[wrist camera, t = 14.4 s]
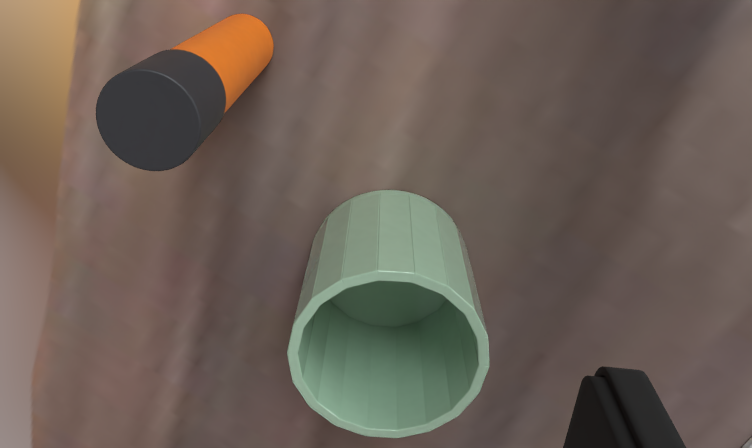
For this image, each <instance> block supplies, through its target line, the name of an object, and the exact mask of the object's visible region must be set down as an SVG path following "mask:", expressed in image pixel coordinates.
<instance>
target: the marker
mask: <svg viewBox="0 0 752 448" xmlns="http://www.w3.org/2000/svg"><path fill="white" fill-rule="evenodd" d="M272 54H273V39H272V36H271V34H270V31H269V30H268V28H267V27H266V26H265V24H264V23H263V22H261V21H260V20H259V19H257V18H255V17H253V16H251V15H247V14H235V15H232V16H229V17H227V18H226V19H224V20H222V21H220V22H218V23H217V24H215V25H213V26H211V27H209V28H208V29H206V30H204V31H202V32H200V33H199V34H197V35H195V36H193V37H191V38H190V39H188V40H186V41H184V42H182V43H181V44H179V45H177V46H175V47H173V48H172V49H170V50H165V51H161V52H159V53H157V54H154V55H153V56H151V57H149V58H147V59H145V60H143V61H141V62H140V63H138V64H136V65H134V66H132V67H130V68H128V69H127V70H125V71H123V72H121V73H119V74H118V75H116V76H114V77H113V78H112V79H111V80H109V81H108V82H107V83H106V85H105V86H104V87H103V89H102V91H101V92H100V95H99V97H98V100H97V105H96V120H97V125H98V129H99V132H100V134H101V136H102V138H103V140H104V141H105V143H106V145H107V146H108V147H109V148H110V150H111V151H112V152H113V153H114V154H115V155H116V156H118V157H119V158H120V159H121V160H123V161H124V162H126V163H128V164H130V165H132V166H134V167H137V168H139V169H143V170H149V171H164V170H169V169H172V168H175V167H177V166H179V165H181V164H182V163H184V162H185V161H186V160H188V159H189V158H190V156H191V155H192V154H193V153H194V152H195V151H196V150H197V149H198V147H199V146H200V145H201V144H202V143H203V142H204V140H205V139H206V138H207V137H208V136H209V135H210V134H211V132H212V131H213V130H214V129H215V128H216V127H217V125H218V124H219V123H220V121H221V119H222V117H223V115H224V113H225V112H226V111H227V110H228V109H229V108H230V106H231V105H232V104H233V103H234V102H235V101H236V100H237V98H238V97H239V96H240V95H241V94H242V93H243V92H244V91H245V89H246V88H247V87H248V86H249V85H250V84H251V83H252V82H253V80H254V79H255V78H256V77H257V76H258V75H259V74H260V73H261V71H262V70H263V69H264V68H265V67H266V66H267V65H268V63H269V62H270V60H271V57H272Z"/></svg>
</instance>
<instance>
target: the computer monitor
mask: <svg viewBox="0 0 752 448" xmlns="http://www.w3.org/2000/svg"><path fill="white" fill-rule="evenodd" d="M742 448H752V437H751V438H750V439H749V440H748V441H747V443H746V444H745V445H744V446H743V447H742Z"/></svg>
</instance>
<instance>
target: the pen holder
mask: <svg viewBox="0 0 752 448" xmlns="http://www.w3.org/2000/svg"><path fill="white" fill-rule="evenodd" d="M287 357H288V362H289V367H290V372H291V377H292V381H293V383H294V385H295V386H296V388H297V389H298V391H299V392H300V394H301V395H302V397H303V398H304V400H305V401H306V403H307V404H308V406H310V408H312V409H313V410H314V411H316V412H317V413H318V414H320V415H321V416H322V417H324V418H325V419H326V420H328V421H329V422H330V423H332V424H333V425H335V426H337V427H340V428H343V429H346V430H349V431H351V432H354V433H357V434H360V435H363V436H368V437H384V438H402V437H407V436H412V435H416V434H421V433H426V432H430V431H432V430H434V429H436V428H438V427H439V426H441V425H443V424H445V423H447V422H449V421H450V420H452V419H454V418H456V417H457V416H459V415H460V414H461V413H462V412H463V410H464V409H465V408H466V407H467V406H468V405H469V404H470V403H471V402H472V401H473V400H474V398H475V397H476V396H477V395H478V394H479V392H480V390H481V387H482V384H483V382H484V379H485V377H486V374H487V371H488V369H489V365H490V361H489V341H488V334H487V330H486V326H485V322H484V317H483V313H482V309H481V305H480V301H479V297H478V293H477V289H476V284H475V280H474V276H473V272H472V268H471V264H470V260H469V256H468V252H467V248H466V245H465V243H464V240H463V238H462V235H461V233H460V231H459V229H458V227H457V225H456V224H455V222H454V221H453V220H452V219H451V217H450V216H449V215H448V214H447V213H446V212H445V211H444V210H443V209H442V208H440V207H439V206H438V205H436V204H435V203H433V202H432V201H430V200H428V199H426V198H424V197H421V196H419V195H416V194H413V193H409V192H405V191H398V190H379V191H372V192H368V193H364V194H361V195H358V196H356V197H353V198H351V199H349V200H347V201H346V202H344V203H342V204H341V205H340V206H338V207H337V208H335V209H334V210H333V211H332V212H331V213H330V214H329V215H328V216H327V218H326V219H325V220H324V221H323V223H322V224H321V226H320V228H319V229H318V231H317V233H316V235H315V237H314V240H313V244H312V248H311V252H310V256H309V261H308V265H307V269H306V273H305V277H304V281H303V285H302V289H301V294H300V298H299V302H298V306H297V310H296V314H295V318H294V323H293V327H292V331H291V336H290V340H289V345H288V349H287Z"/></svg>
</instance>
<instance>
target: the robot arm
mask: <svg viewBox="0 0 752 448" xmlns="http://www.w3.org/2000/svg"><path fill="white" fill-rule="evenodd" d="M563 448H686V446H685V445H684V443H683V441H682V439H681V437H680V435H679V434H678V432H677V430H676V428H675V426H674V424H673V423H672V421H671V419H670V417H669V415H668V413H667V412H666V410H665V408H664V406H663V404H662V402H661V400H660V399H659V397H658V395H657V393H656V391H655V389H654V388H653V386H652V384H651V382H650V380H649V378H648V377H647V375H646V374H645V373H644V372H643V371H641V370H633V369H622V368H612V367H600V368H599V369H598V370H597V371H596V373H595V376H585V377H584V378H583V380H582V383H581V386H580V389H579V393H578V396H577V400H576V404H575V407H574V411H573V414H572V418H571V421H570V425H569V429H568V432H567V436H566V439H565V443H564V446H563Z"/></svg>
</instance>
